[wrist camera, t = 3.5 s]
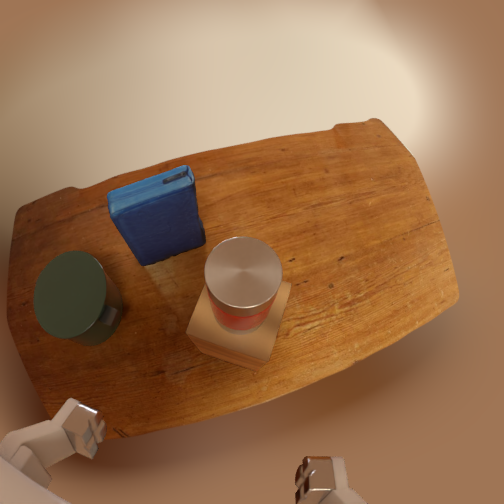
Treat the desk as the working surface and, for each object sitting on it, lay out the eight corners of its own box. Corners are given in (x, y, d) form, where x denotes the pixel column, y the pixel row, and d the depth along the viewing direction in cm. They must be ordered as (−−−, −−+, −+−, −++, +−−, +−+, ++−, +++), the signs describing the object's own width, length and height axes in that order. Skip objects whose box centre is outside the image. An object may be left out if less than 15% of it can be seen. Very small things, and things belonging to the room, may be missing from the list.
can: (258, 342, 31) (270, 319, 22) (204, 324, 32) (191, 293, 22) (274, 292, 34) (291, 249, 25) (223, 275, 35) (220, 226, 25)
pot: (113, 366, 44) (90, 360, 36) (42, 323, 46) (16, 309, 38) (145, 290, 52) (130, 271, 43) (73, 259, 53) (53, 237, 45)
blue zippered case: (201, 226, 59) (191, 156, 41) (210, 247, 57) (201, 180, 39) (136, 250, 55) (102, 187, 38) (142, 272, 53) (105, 214, 36)
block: (256, 371, 46) (268, 361, 30) (201, 352, 47) (184, 332, 31) (273, 319, 51) (292, 283, 35) (220, 302, 52) (215, 258, 36)
